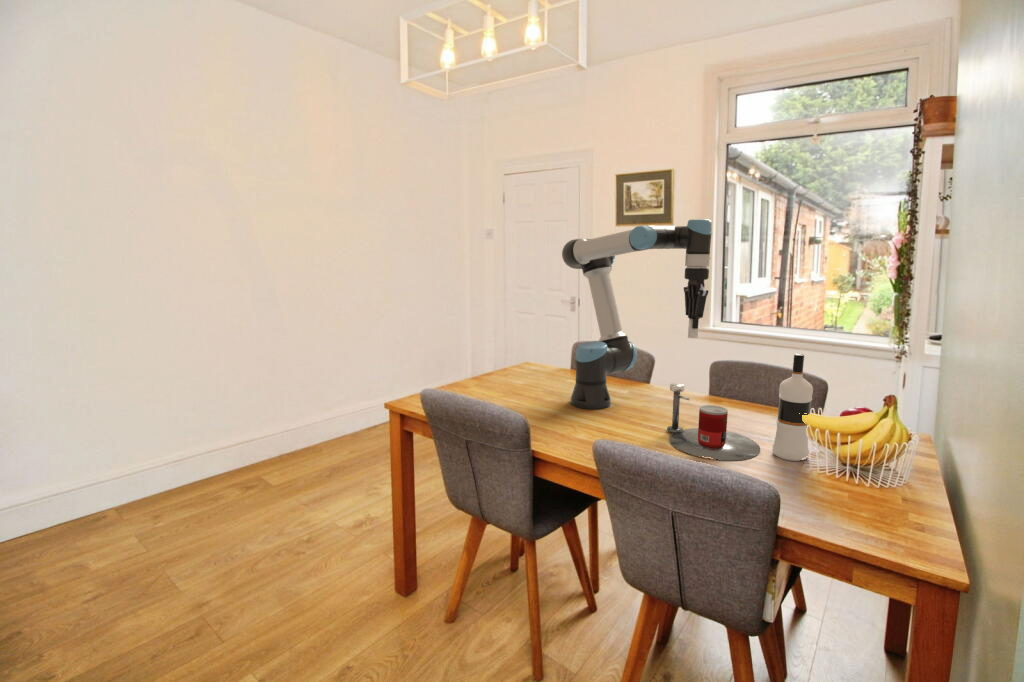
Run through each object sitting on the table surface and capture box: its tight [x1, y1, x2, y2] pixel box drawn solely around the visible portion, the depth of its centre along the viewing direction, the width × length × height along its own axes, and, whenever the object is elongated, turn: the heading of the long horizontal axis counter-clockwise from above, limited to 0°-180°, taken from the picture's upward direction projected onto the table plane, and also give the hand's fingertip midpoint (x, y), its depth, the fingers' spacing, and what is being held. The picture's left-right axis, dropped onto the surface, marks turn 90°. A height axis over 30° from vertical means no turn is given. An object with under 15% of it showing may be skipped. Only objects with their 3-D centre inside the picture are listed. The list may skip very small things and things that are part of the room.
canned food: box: [698, 404, 728, 448], centre depth 161 cm, size 8×8×11 cm
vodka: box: [771, 353, 814, 462], centre depth 150 cm, size 9×9×30 cm
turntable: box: [669, 427, 761, 462], centre depth 163 cm, size 26×26×1 cm
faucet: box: [666, 382, 691, 434], centre depth 171 cm, size 7×5×16 cm
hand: (692, 337), depth 179 cm, fingers closed
